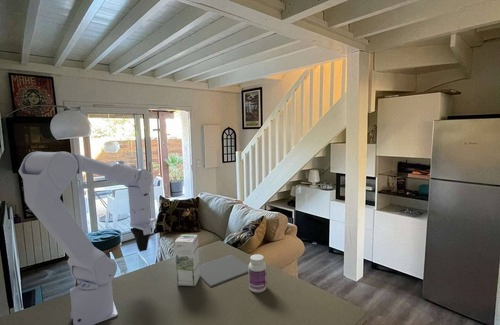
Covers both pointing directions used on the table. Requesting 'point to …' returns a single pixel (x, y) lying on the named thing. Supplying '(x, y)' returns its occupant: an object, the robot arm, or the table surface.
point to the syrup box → (187, 260)
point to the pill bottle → (257, 273)
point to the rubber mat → (222, 270)
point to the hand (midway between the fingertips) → (142, 250)
